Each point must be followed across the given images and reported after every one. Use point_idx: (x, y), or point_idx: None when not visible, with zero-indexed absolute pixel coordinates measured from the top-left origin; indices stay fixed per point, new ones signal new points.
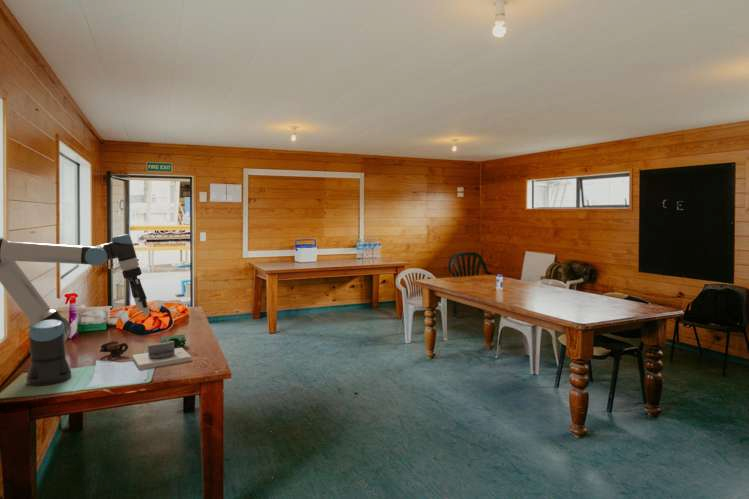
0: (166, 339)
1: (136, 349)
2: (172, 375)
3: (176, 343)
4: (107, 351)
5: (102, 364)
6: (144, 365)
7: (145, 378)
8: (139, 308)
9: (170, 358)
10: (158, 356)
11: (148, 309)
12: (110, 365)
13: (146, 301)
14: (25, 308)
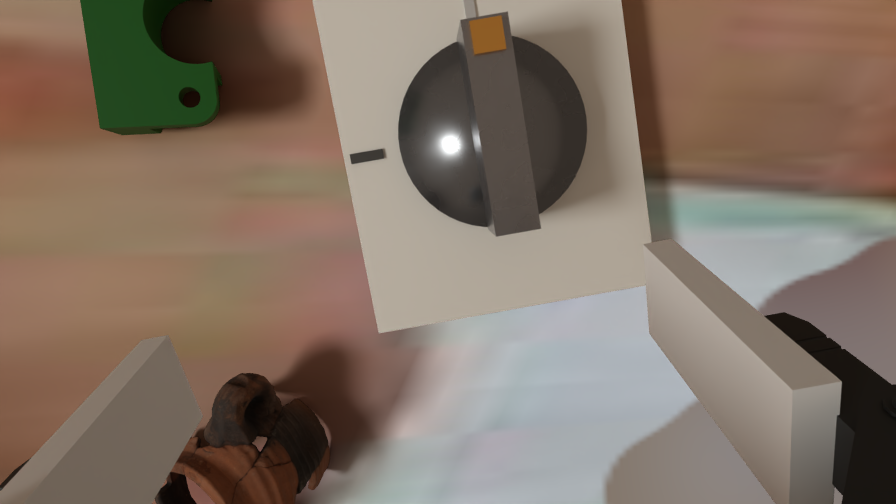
0: (162, 81)
1: (120, 307)
2: (868, 80)
3: (161, 7)
4: (189, 494)
5: (426, 488)
6: None
7: (844, 236)
8: (172, 420)
9: (593, 74)
10: (580, 156)
11: (709, 278)
12: (471, 442)
13: (809, 360)
14: None
